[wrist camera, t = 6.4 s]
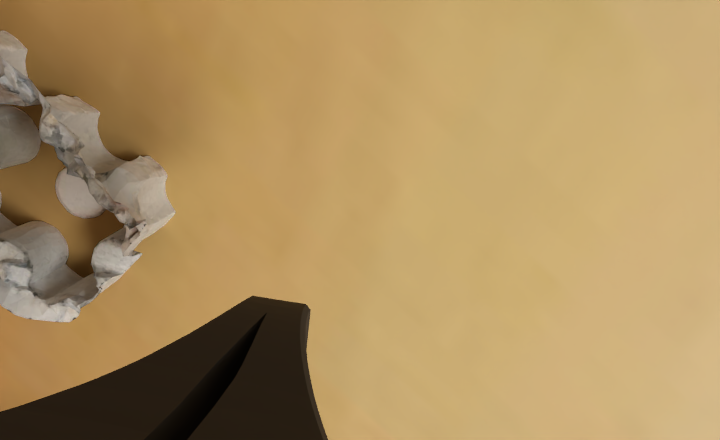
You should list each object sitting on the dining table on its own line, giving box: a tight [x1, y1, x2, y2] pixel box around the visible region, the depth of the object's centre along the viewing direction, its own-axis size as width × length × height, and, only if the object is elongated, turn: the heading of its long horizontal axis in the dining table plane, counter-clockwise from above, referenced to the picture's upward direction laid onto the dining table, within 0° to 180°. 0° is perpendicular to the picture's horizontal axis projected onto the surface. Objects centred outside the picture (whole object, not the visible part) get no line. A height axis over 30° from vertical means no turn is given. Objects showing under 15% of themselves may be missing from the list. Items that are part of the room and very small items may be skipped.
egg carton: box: [0, 30, 175, 322], centre depth 17 cm, size 11×8×4 cm
